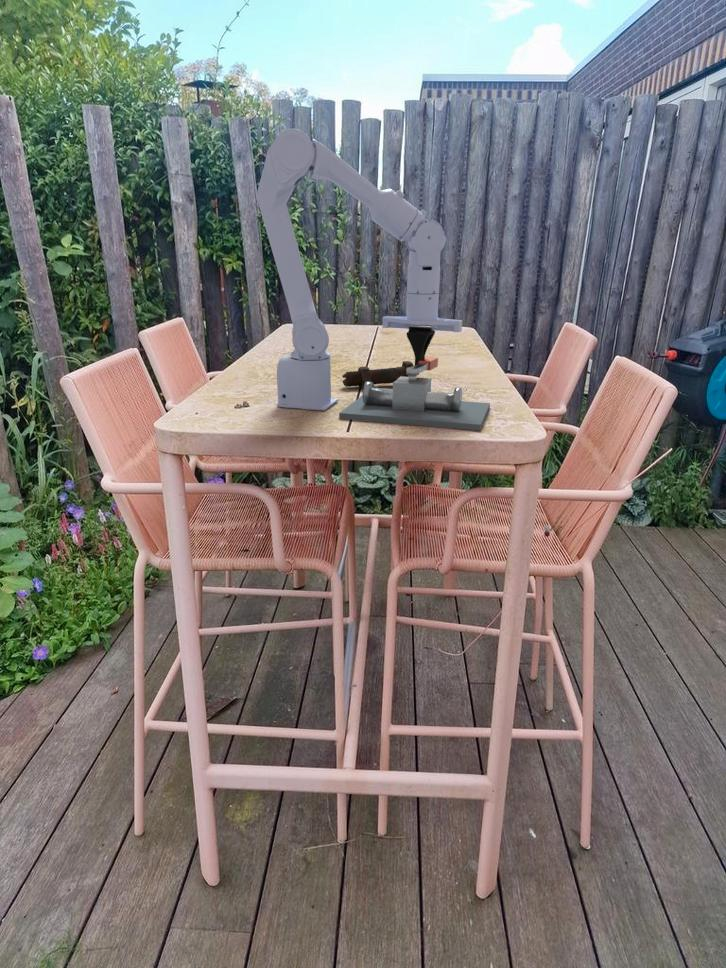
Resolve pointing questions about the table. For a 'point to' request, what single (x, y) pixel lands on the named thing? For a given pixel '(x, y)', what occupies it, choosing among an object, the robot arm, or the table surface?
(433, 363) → the valve lever
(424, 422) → the mounting plate
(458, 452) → the table surface
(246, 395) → the table surface
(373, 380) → the bolt
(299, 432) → the table surface
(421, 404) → the valve manifold
